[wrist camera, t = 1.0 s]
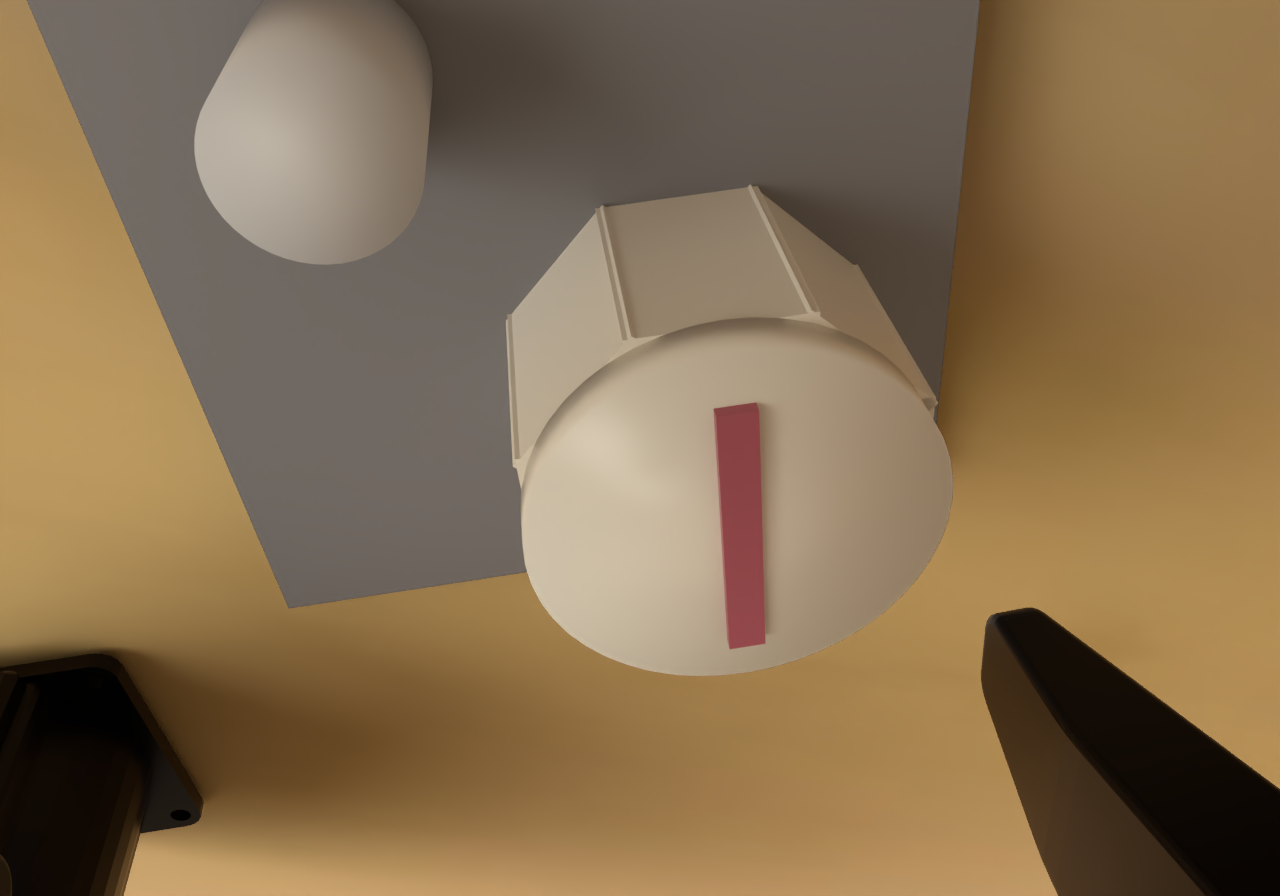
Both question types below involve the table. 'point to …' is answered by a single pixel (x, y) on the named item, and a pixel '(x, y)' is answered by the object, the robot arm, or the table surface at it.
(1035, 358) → the table surface
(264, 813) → the table surface
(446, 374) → the board
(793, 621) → the knob
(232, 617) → the table surface
